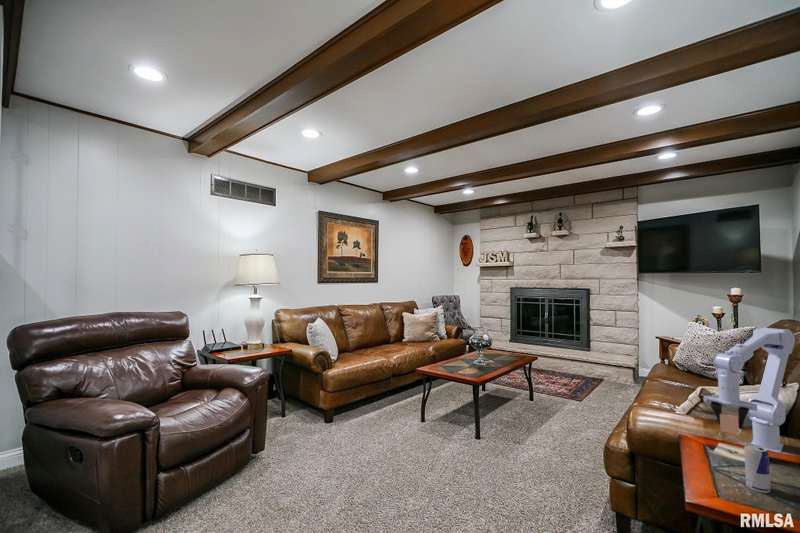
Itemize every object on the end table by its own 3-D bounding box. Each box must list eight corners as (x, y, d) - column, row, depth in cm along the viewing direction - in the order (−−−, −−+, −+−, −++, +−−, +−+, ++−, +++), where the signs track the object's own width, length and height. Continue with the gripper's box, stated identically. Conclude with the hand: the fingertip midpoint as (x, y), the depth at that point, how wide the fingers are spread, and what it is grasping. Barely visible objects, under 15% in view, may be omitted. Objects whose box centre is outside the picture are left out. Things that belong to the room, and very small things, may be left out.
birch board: (719, 443, 144) (719, 442, 144) (751, 451, 137) (751, 450, 137) (712, 454, 135) (711, 452, 135) (745, 462, 128) (745, 461, 128)
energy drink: (775, 494, 110) (773, 452, 110) (754, 492, 111) (752, 450, 111) (762, 484, 115) (760, 444, 115) (741, 483, 116) (739, 443, 116)
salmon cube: (723, 427, 140) (722, 410, 140) (741, 431, 136) (740, 414, 136) (720, 431, 136) (719, 414, 137) (738, 435, 133) (738, 417, 133)
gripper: (700, 386, 140) (702, 423, 139) (754, 394, 129) (756, 435, 128) (705, 382, 144) (707, 418, 144) (757, 390, 133) (759, 429, 133)
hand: (730, 426), depth 136 cm, fingers closed on salmon cube, 5 cm apart
